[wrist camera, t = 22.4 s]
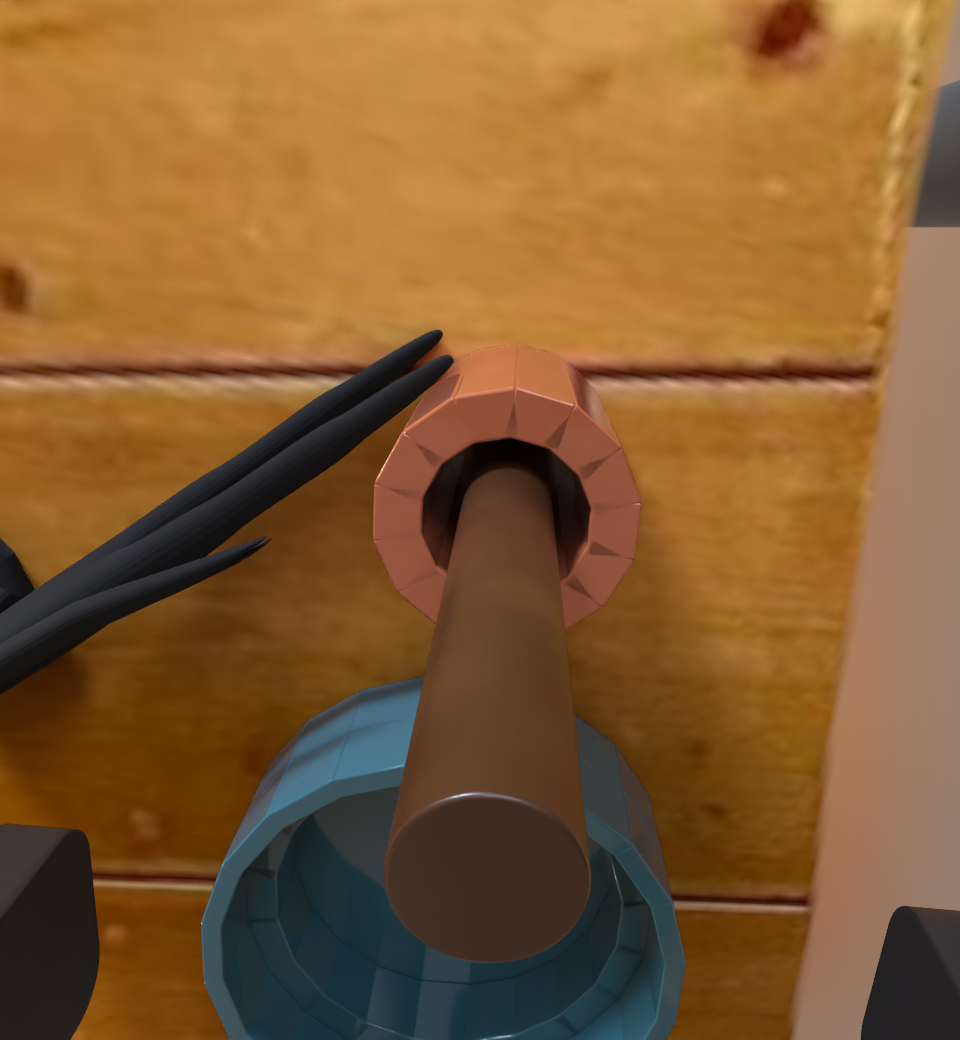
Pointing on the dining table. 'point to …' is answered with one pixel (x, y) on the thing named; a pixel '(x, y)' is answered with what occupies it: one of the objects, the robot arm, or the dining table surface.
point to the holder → (525, 417)
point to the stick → (494, 736)
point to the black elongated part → (200, 518)
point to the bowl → (382, 937)
